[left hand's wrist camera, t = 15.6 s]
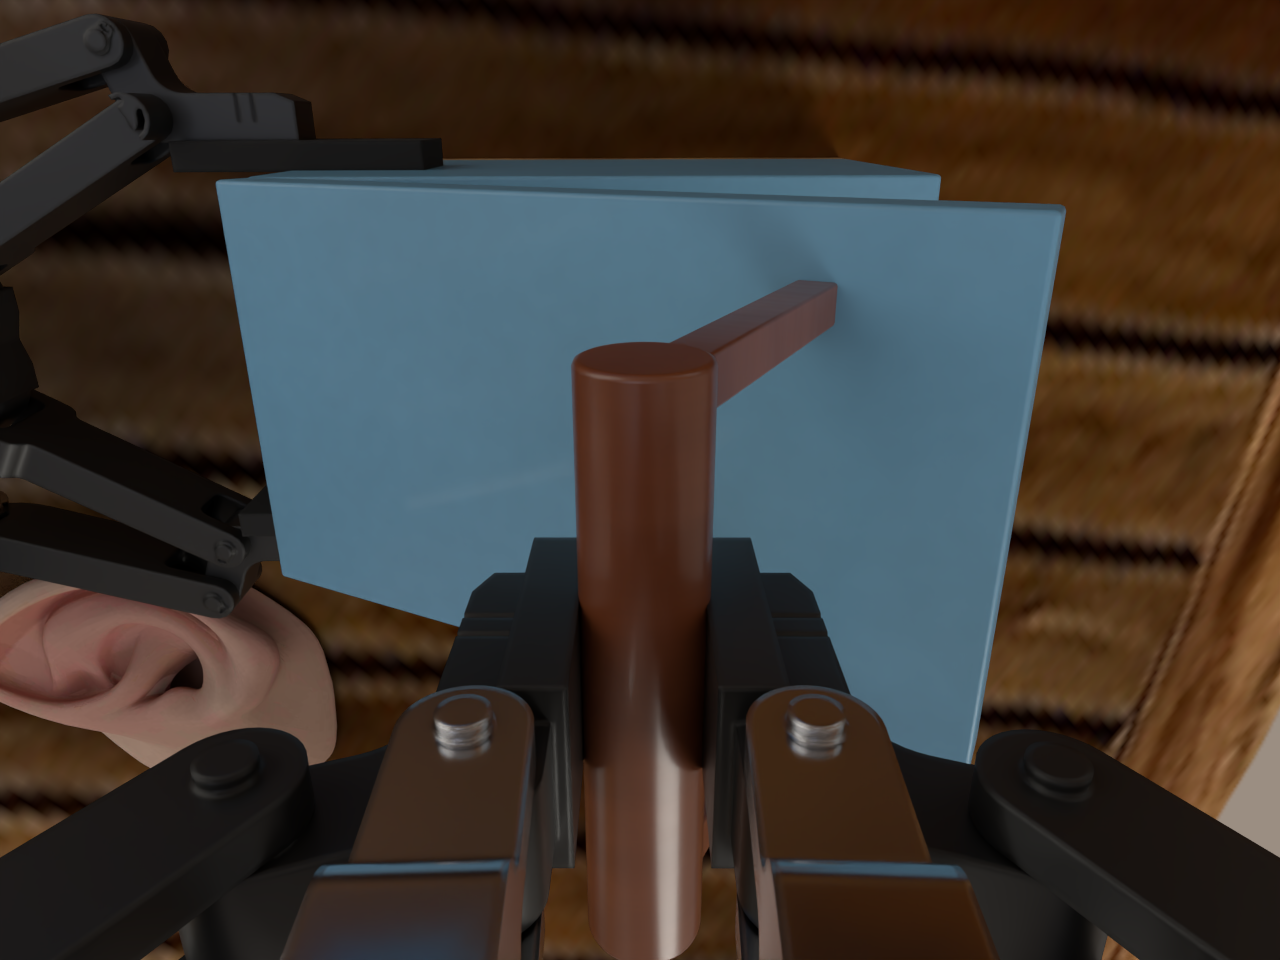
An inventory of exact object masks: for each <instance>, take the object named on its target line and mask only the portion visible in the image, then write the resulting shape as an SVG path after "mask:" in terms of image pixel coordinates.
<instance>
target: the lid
mask: <svg viewBox="0 0 1280 960" xmlns="http://www.w3.org/2000/svg"><path fill="white" fill-rule="evenodd" d="M216 189H217V195H218V200H219V206H220V212H221V218H222V224H223V230H224V236H225V241H226V247H227V253H228V259H229V265H230V271H231V277H232V282H233V288H234V294H235V300H236V306H237V312H238V318H239V323H240V329H241V335H242V341H243V347H244V353H245V358H246V364H247V370H248V376H249V382H250V388H251V394H252V399H253V405H254V411H255V417H256V423H257V429H258V435H259V440H260V446H261V452H262V458H263V464H264V470H265V476H266V481H267V487H268V493H269V499H270V505H271V511H272V517H273V522H274V528H275V534H276V540H277V546H278V552H279V558H280V563H281V569H282V574H283V575H284V576H285V577H289V578H292V579H296V580H299V581H303V582H306V583H310V584H313V585H317V586H320V587H323V588H327V589H330V590H334V591H337V592H341V593H344V594H348V595H351V596H354V597H358V598H361V599H365V600H368V601H372V602H375V603H379V604H382V605H386V606H389V607H392V608H396V609H399V610H403V611H406V612H410V613H413V614H417V615H420V616H423V617H427V618H430V619H434V620H437V621H441V622H444V623H448V624H451V625H455V626H458V627H460V624H461V621H462V618H464V613H465V610H466V607H467V604H468V602H469V599H470V596H471V593H472V591H473V590H475V589H476V588H477V587H478V586H479V585H480V584H482V583H483V582H484V581H485V580H486V579H488V578H489V577H490V576H491V575H492V574H494V573H525V571H526V567H527V563H528V559H529V555H530V551H531V547H532V543H533V540H534V538H535V537H576V540H577V572H578V597H579V613H580V647H581V680H582V714H583V748H584V793H585V824H586V856H587V888H588V918H589V926H590V930H591V932H592V935H593V937H594V938H595V940H596V941H597V943H598V944H599V945H600V947H601V948H602V949H603V950H604V951H605V952H606V953H608V954H609V955H611V956H612V957H614V958H616V959H618V960H672V959H674V958H676V957H677V956H679V955H680V954H682V953H683V952H684V951H685V950H686V949H687V948H688V947H689V946H690V945H691V943H692V942H693V941H694V939H695V937H696V935H697V933H698V931H699V927H700V922H701V897H702V865H703V856H704V855H705V853H706V851H707V849H708V848H709V836H708V826H707V815H706V805H705V794H704V783H703V773H702V751H703V720H704V688H705V656H706V625H707V605H708V604H709V601H710V599H711V579H712V548H713V537H750V538H751V541H752V544H753V548H754V552H755V556H756V559H757V563H758V567H759V571H760V573H791V574H792V575H793V576H795V577H796V578H797V579H798V580H799V581H801V582H802V583H803V584H804V585H805V586H807V587H808V588H809V589H810V590H811V591H813V594H814V596H815V599H816V602H817V604H818V607H819V610H820V612H821V618H823V621H824V623H825V626H826V629H827V631H828V637H830V639H831V642H832V645H833V648H834V650H835V653H836V656H837V658H838V661H839V664H840V667H841V669H842V672H843V675H844V677H845V680H846V683H847V685H848V688H849V691H850V694H851V695H852V696H854V697H856V698H858V699H860V700H862V701H863V702H864V703H866V704H867V705H869V706H870V707H871V708H872V709H873V710H875V711H876V712H877V713H878V715H879V716H880V717H881V719H882V720H883V722H884V724H885V726H886V728H887V731H888V734H889V737H890V740H891V741H892V742H894V743H896V744H898V745H900V746H903V747H905V748H908V749H910V750H913V751H916V752H919V753H923V754H927V755H931V756H935V757H940V758H944V759H949V760H954V761H958V762H963V763H968V764H971V760H972V756H973V752H974V747H975V743H976V739H977V733H978V727H979V721H980V715H981V709H982V704H983V698H984V692H985V686H986V680H987V674H988V668H989V662H990V656H991V650H992V645H993V639H994V633H995V627H996V621H997V615H998V609H999V603H1000V597H1001V591H1002V586H1003V580H1004V574H1005V568H1006V562H1007V556H1008V550H1009V544H1010V538H1011V532H1012V527H1013V521H1014V515H1015V509H1016V503H1017V497H1018V491H1019V485H1020V479H1021V473H1022V468H1023V462H1024V456H1025V450H1026V444H1027V438H1028V432H1029V426H1030V420H1031V415H1032V409H1033V403H1034V397H1035V391H1036V385H1037V379H1038V373H1039V367H1040V361H1041V356H1042V350H1043V344H1044V338H1045V332H1046V326H1047V320H1048V314H1049V308H1050V302H1051V297H1052V291H1053V285H1054V279H1055V273H1056V267H1057V261H1058V255H1059V249H1060V243H1061V238H1062V232H1063V226H1064V220H1065V214H1066V210H1065V207H1064V206H1062V205H1059V204H1030V203H1000V202H970V201H941V200H911V199H881V198H851V197H822V196H792V195H762V194H732V193H703V192H673V191H643V190H613V189H584V188H554V187H524V186H494V185H465V184H435V183H405V182H376V181H346V180H316V179H286V178H257V177H254V178H239V179H223V180H218V181H217V182H216Z"/></svg>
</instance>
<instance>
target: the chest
mask: <svg viewBox="0 0 1280 960" xmlns="http://www.w3.org/2000/svg"><path fill="white" fill-rule="evenodd" d="M254 177H257V178H286V179H316V180H346V181H376V182H405V183H435V184H465V185H494V186H524V187H554V188H584V189H613V190H643V191H673V192H703V193H732V194H762V195H792V196H822V197H851V198H881V199H911V200H938V198H939V190H940V181H941V177H940V175H938V174H932V173H926V172H920V171H914V170H908V169H902V168H896V167H890V166H884V165H877V164H871V163H865V162H859V161H853V160H847V159H845V158H839V157H817V158H464V159H443V166H440V167H435V168H431V169H427V170H337V171H286V172H279V173H272V174H265V175H259V176H252V177H249V178H254Z"/></svg>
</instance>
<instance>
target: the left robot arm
mask: <svg viewBox="0 0 1280 960" xmlns="http://www.w3.org/2000/svg"><path fill="white" fill-rule="evenodd" d="M583 762H584V748H583V714H582V680H581V647H580V613H579V597H578V572H577V540H576V537H535V538H534V540H533V543H532V547H531V551H530V555H529V559H528V563H527V567H526V571H525V573H494V574H492V575H491V576H490V577H489V578H488V579H486V580H485V581H484V582H483V583H482V584H480V585H479V586H478V587H477V588H476V589H475V590H473V591H472V593H471V596H470V599H469V602H468V604H467V607H466V610H465V613H464V618H462V621H461V624H460V627H459V629H458V636H456V638H455V641H454V643H453V646H452V649H451V652H450V654H449V657H448V660H447V663H446V666H445V668H444V671H443V674H442V677H441V680H440V682H439V685H438V688H437V691H436V693H433V694H430V695H428V696H426V697H424V698H422V699H420V700H418V701H417V702H416V703H414V704H413V705H411V706H410V707H409V708H408V709H407V710H406V711H404V712H403V713H402V715H401V716H400V717H399V719H398V720H397V722H396V724H395V726H394V728H393V731H392V734H391V737H390V740H389V743H388V745H386V746H384V747H381V748H379V749H376V750H373V751H370V752H367V753H363V754H359V755H355V756H351V757H346V758H342V759H337V760H332V761H328V762H323V763H318V764H314V765H309V762H308V756H307V751H306V749H305V747H304V745H303V743H302V742H301V741H300V740H299V739H298V738H296V737H295V736H293V735H292V734H290V733H287V732H285V731H282V730H278V729H273V728H262V727H256V728H242V729H235V730H230V731H226V732H222V733H218V734H215V735H212V736H209V737H206V738H204V739H202V740H199V741H197V742H195V743H193V744H191V745H189V746H187V747H185V748H183V749H182V750H180V751H178V752H177V753H175V754H173V755H172V756H170V757H168V758H167V759H165V760H163V761H162V762H160V763H158V764H157V765H155V766H153V767H151V768H150V769H148V770H146V771H145V772H143V773H141V774H140V775H138V776H136V777H135V778H133V779H131V780H130V781H128V782H126V783H125V784H123V785H121V786H120V787H118V788H116V789H115V790H113V791H111V792H110V793H108V794H106V795H105V796H103V797H101V798H100V799H98V800H96V801H94V802H93V803H91V804H89V805H88V806H86V807H84V808H83V809H81V810H79V811H78V812H76V813H74V814H73V815H71V816H69V817H68V818H66V819H64V820H63V821H61V822H59V823H58V824H56V825H54V826H53V827H51V828H49V829H48V830H46V831H44V832H43V833H41V834H39V835H38V836H36V837H34V838H32V839H31V840H29V841H27V842H26V843H24V844H22V845H21V846H19V847H17V848H16V849H14V850H12V851H11V852H9V853H7V854H6V855H4V856H2V857H1V858H0V960H141V959H142V958H143V957H145V956H146V955H147V954H148V953H150V952H151V951H152V950H154V949H155V948H156V947H158V946H159V945H160V944H162V943H163V942H164V941H165V940H167V939H168V938H169V937H171V936H172V935H173V934H175V933H176V932H177V931H178V930H179V933H180V937H181V941H182V945H183V949H184V953H185V955H184V956H183V957H181V958H180V959H179V960H543V951H544V936H545V920H544V907H545V905H546V903H547V899H548V895H549V889H550V880H551V872H552V868H574V866H575V854H576V843H577V831H578V820H579V808H580V797H581V785H582V774H583ZM702 773H703V783H704V794H705V805H706V815H707V826H708V836H709V847H710V857H711V868H734V870H735V878H736V886H737V902H736V921H735V936H736V951H737V960H1101V959H1102V955H1103V951H1104V947H1105V943H1106V940H1107V936H1109V937H1111V938H1112V939H1113V940H1115V941H1116V942H1117V943H1119V944H1120V945H1121V946H1122V947H1124V948H1125V949H1126V950H1128V951H1129V952H1130V953H1132V954H1133V955H1134V956H1135V957H1137V958H1138V959H1139V960H1280V858H1279V857H1278V856H1276V855H1274V854H1273V853H1271V852H1269V851H1268V850H1266V849H1264V848H1263V847H1261V846H1259V845H1258V844H1256V843H1254V842H1252V841H1251V840H1249V839H1248V838H1246V837H1244V836H1242V835H1241V834H1239V833H1237V832H1236V831H1234V830H1232V829H1231V828H1229V827H1227V826H1226V825H1224V824H1222V823H1221V822H1219V821H1217V820H1216V819H1214V818H1212V817H1211V816H1209V815H1207V814H1206V813H1204V812H1202V811H1201V810H1199V809H1197V808H1196V807H1194V806H1192V805H1191V804H1189V803H1187V802H1186V801H1184V800H1182V799H1180V798H1179V797H1177V796H1175V795H1174V794H1172V793H1170V792H1169V791H1167V790H1165V789H1164V788H1162V787H1160V786H1159V785H1157V784H1155V783H1154V782H1152V781H1150V780H1149V779H1147V778H1145V777H1144V776H1142V775H1140V774H1139V773H1137V772H1135V771H1134V770H1132V769H1130V768H1129V767H1127V766H1125V765H1124V764H1122V763H1120V762H1118V761H1117V760H1115V759H1113V758H1112V757H1110V756H1108V755H1107V754H1105V753H1103V752H1102V751H1100V750H1098V749H1096V748H1094V747H1092V746H1091V745H1089V744H1086V743H1084V742H1082V741H1079V740H1077V739H1074V738H1071V737H1068V736H1065V735H1061V734H1057V733H1053V732H1048V731H1041V730H1026V729H1023V730H1011V731H1006V732H1001V733H999V734H996V735H994V736H992V737H990V738H989V739H987V740H985V742H984V743H983V744H982V745H981V746H980V747H979V749H978V752H977V754H976V760H975V765H972V764H968V763H963V762H958V761H954V760H949V759H944V758H940V757H935V756H931V755H927V754H923V753H919V752H916V751H913V750H910V749H908V748H905V747H903V746H900V745H898V744H896V743H894V742H892V741H891V740H890V737H889V734H888V731H887V728H886V726H885V724H884V722H883V720H882V719H881V717H880V716H879V715H878V713H877V712H876V711H875V710H873V709H872V708H871V707H870V706H869V705H867V704H866V703H864V702H863V701H862V700H860V699H858V698H856V697H854V696H852V695H851V694H850V691H849V688H848V685H847V683H846V680H845V677H844V675H843V672H842V669H841V667H840V664H839V661H838V658H837V656H836V653H835V650H834V648H833V645H832V642H831V639H830V637H828V631H827V629H826V626H825V623H824V621H823V618H821V612H820V610H819V607H818V604H817V602H816V599H815V596H814V594H813V591H811V590H810V589H809V588H808V587H807V586H805V585H804V584H803V583H802V582H801V581H799V580H798V579H797V578H796V577H795V576H793V575H792V574H791V573H760V571H759V567H758V563H757V559H756V556H755V552H754V548H753V544H752V541H751V538H750V537H713V548H712V579H711V599H710V601H709V604H708V605H707V625H706V656H705V688H704V720H703V751H702Z"/></svg>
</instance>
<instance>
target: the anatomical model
mask: <svg viewBox="0 0 1280 960" xmlns="http://www.w3.org/2000/svg"><path fill="white" fill-rule="evenodd" d="M0 702H2V703H4V704H6V705H9V706H11V707H13V708H16V709H19V710H21V711H24V712H27V713H29V714H32V715H35V716H38V717H41V718H44V719H48V720H51V721H54V722H58V723H61V724H65V725H70V726H75V727H80V728H85V729H90V730H95V731H100V732H103V733H104V734H105V735H106V736H107V737H108V738H110V739H111V740H112V741H113V742H114V743H116V744H117V745H118V746H120V747H121V748H122V749H123V750H125V751H126V752H127V753H129V754H130V755H131V756H133V757H134V758H135V759H137V760H138V761H140V762H141V763H143V764H144V765H146V766H148V767H150V768H151V767H153V766H155V765H157V764H158V763H160V762H162V761H163V760H165V759H167V758H168V757H170V756H172V755H173V754H175V753H177V752H178V751H180V750H182V749H183V748H185V747H187V746H189V745H191V744H193V743H195V742H197V741H199V740H202V739H204V738H206V737H209V736H212V735H215V734H218V733H222V732H226V731H230V730H235V729H242V728H256V727H262V728H273V729H278V730H282V731H285V732H287V733H290V734H292V735H293V736H295V737H296V738H298V739H299V740H300V741H301V742H302V743H303V745H304V747H305V749H306V751H307V756H308V762H309V765H314V764H318V763H323V762H325V761H326V760H327V759H328V758H329V757H330V755H331V754H332V752H333V750H334V748H335V744H336V735H337V720H336V709H335V697H334V689H333V683H332V679H331V676H330V672H329V669H328V665H327V662H326V658H325V655H324V651H323V649H322V647H321V645H320V643H319V641H318V639H317V638H316V636H315V635H314V633H313V632H312V631H311V630H310V628H309V627H308V626H307V625H305V624H304V623H303V622H302V621H301V620H300V619H298V618H297V617H296V616H295V615H293V614H292V613H291V612H289V611H288V610H286V609H285V608H284V607H282V606H281V605H279V604H278V603H276V602H275V601H273V600H272V599H270V598H268V597H267V596H265V595H263V594H262V593H260V592H259V591H257V590H255V589H254V588H252V587H251V588H250V589H249V591H248V592H247V593H246V595H245V596H244V597H243V598H242V600H241V601H240V602H239V603H238V605H237V606H236V607H235V608H234V610H233V611H232V612H231V613H230V614H229V615H228V616H227V617H223V618H220V619H219V618H210V617H205V616H201V615H196V614H192V613H187V612H183V611H178V610H174V609H169V608H164V607H160V606H155V605H151V604H146V603H142V602H137V601H133V600H128V599H124V598H119V597H115V596H110V595H106V594H101V593H97V592H92V591H88V590H83V589H78V588H74V587H69V586H65V585H60V584H56V583H51V582H47V581H42V580H38V579H33V580H30V581H28V582H26V583H24V584H22V585H20V586H19V587H17V588H15V589H13V590H12V591H10V592H8V593H7V594H6V595H4V596H3V597H2V598H0Z"/></svg>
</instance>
